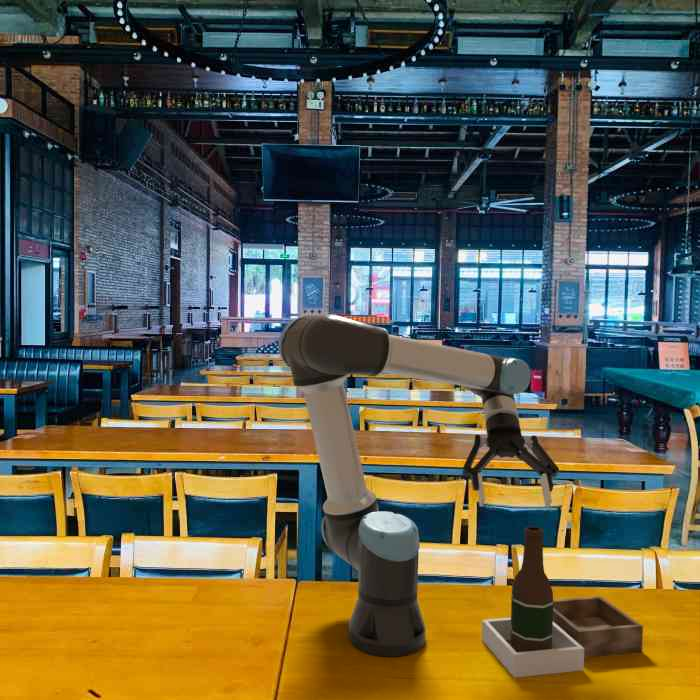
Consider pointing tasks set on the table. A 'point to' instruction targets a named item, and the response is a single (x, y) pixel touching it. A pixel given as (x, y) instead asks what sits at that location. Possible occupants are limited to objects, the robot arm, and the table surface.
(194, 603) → the table surface
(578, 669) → the white corral
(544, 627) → the beer bottle
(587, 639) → the wooden bin
